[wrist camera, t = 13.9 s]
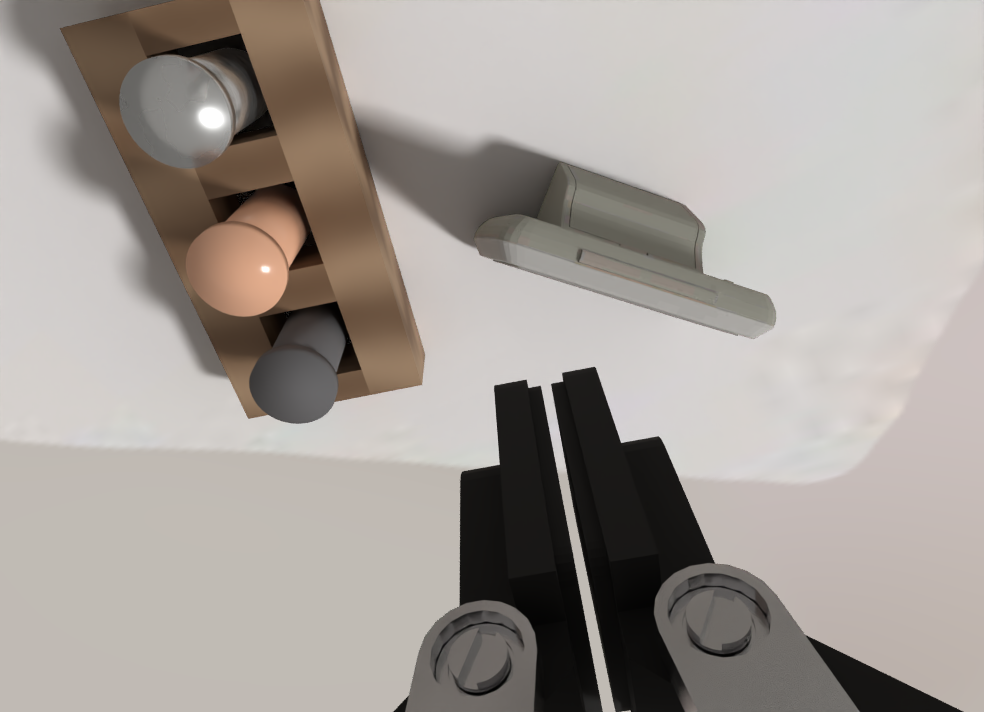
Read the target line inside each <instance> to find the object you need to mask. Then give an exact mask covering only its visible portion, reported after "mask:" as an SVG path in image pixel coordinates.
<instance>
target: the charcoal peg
mask: <svg viewBox="0 0 984 712" xmlns="http://www.w3.org/2000/svg"><path fill="white" fill-rule="evenodd" d="M348 335H349V333H348V330H347V328H346V325H345V322H344V319H343V316H342V314H341V311H340V308H339V305H338V303H337V301H335V302H331V303H326V304H321V305H316V306H311V307H306V308H302V309H297V310H292V311H291V313H290V315H289V317H288V319H287V321H286V322H285V324H284V326H283V328H282V330H281V332H280V334H279V336H278V338H277V340H276V342H275V344H274V346H273V348H272V349H270V350H268V351H266V352H265V353H264V354H263V355H262V356H261V357H260V358H259V359H258V361H257V362H256V364H255V366H254V368H253V370H252V372H251V374H250V378H249V388H250V392H251V395H252V397H253V399H254V401H255V402H256V404H257V405H258V406H259V407H260V408H261V409H262V410H263V411H264V412H265V413H267V414H268V415H270V416H271V417H273V418H275V419H278V420H280V421H283V422H288V423H296V424H299V423H308V422H312V421H315V420H317V419H319V418H321V417H323V416H324V415H325V414H326V413H327V412H328V411H329V410H330V409H331V408H332V406H333V404H334V401H335V398H336V395H337V392H338V377H337V374H336V372H337V369H338V366H339V363H340V360H341V357H342V354H343V350H344V347H345V344H346V341H347V338H348Z"/></svg>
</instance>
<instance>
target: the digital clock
mask: <svg viewBox="0 0 984 712" xmlns="http://www.w3.org/2000/svg"><path fill="white" fill-rule="evenodd" d="M705 233H706V231H705V227H704V225H703V223H702V222H701V221H700V220H699V219H698V218H697V217H696V216H695V215H694V214H693V213H692V212H691V211H690V210H689V209H688V208H687V207H686V206H685V205H683V204H680V203H677V202H674V201H671V200H669V199H666V198H663V197H660V196H657V195H654V194H651V193H648V192H646V191H643V190H640V189H637V188H634V187H631V186H628V185H625V184H623V183H620V182H617V181H614V180H611V179H608V178H605V177H603V176H600V175H597V174H594V173H591V172H588V171H585V170H582V169H580V168H577V167H574V166H571V165H568V164H565V163H562V162H559V163H558V165H557V167H556V170H555V172H554V175H553V177H552V180H551V183H550V185H549V188H548V190H547V193H546V195H545V198H544V201H543V203H542V206H541V208H540V211H539V214H538V216H537V219H535V218H532V217H528V216H525V215H520V214H514V215H507V216H500V217H494V218H491V219H489V220H487V221H486V222H484V223H483V224H482V225H481V226H480V227H479V228H478V230H477V231H476V233H475V237H474V241H475V243H476V246H477V249H478V251H479V254H480V255H481V256H484V257H487V258H490V259H493V261H496V262H499V263H502V264H505V265H508V266H512V267H515V268H518V269H521V270H525V271H528V272H531V273H534V274H537V275H541V276H544V277H547V278H550V279H554V280H557V281H560V282H563V283H566V284H570V285H573V286H576V287H579V288H583V289H586V290H589V291H592V292H595V293H599V294H602V295H605V296H608V297H612V298H615V299H618V300H621V301H624V302H628V303H631V304H634V305H637V306H640V307H644V308H647V309H650V310H653V311H657V312H660V313H663V314H666V315H669V316H673V317H676V318H679V319H683V320H686V321H689V322H692V323H696V324H699V325H702V326H706V327H709V328H713V329H716V330H719V331H723V332H726V333H730V334H733V335H737V336H738V335H741V336H744V337H748V338H751V339H755V338H757V337H759V336H760V335H762V334H764V333H766V332H767V331H769V330H771V329H772V328H774V325H775V322H776V311H775V308H774V305H773V303H772V301H771V299H770V297H769V296H768V295H766V294H763V293H760V292H757V291H754V290H751V289H748V288H745V287H742V286H739V285H736V284H733V283H734V282H731V281H728V280H721V279H718V278H715V277H712V276H709V275H706V274H703V267H702V245H703V241H704V237H705ZM591 252H592V253H591ZM622 262H623V263H622Z"/></svg>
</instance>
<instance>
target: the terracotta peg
mask: <svg viewBox="0 0 984 712" xmlns="http://www.w3.org/2000/svg"><path fill="white" fill-rule="evenodd" d="M310 232H311V227H310V225H309V222H308V219H307V216H306V213H305V211H304V208H303V205H302V202H301V200H300V197H299V194H298V191H296V190H295V189H293V188H291V187H289V186H286V185H282V184H278V185H273V186H269V187H264V188H260V189H257V190H256V191H255V192H254V193H253V194H252V195H251V196H250V197H249V198H248V199H247V200H246V201H245V202H244V203H243V204H242V205H241V206H240V207H239V208H238V209H237V210H236V211H235V212H234V213H233V214H232V215H231V216H230V217H229V218H228V219H227V220H226V221H225V222H220V223H217V224H214V225H212V226H210V227H209V228H207V229H205V230H204V231H203V232H202V233H201V234H200V235H199V236H198V237H197V238H196V239H195V240H194V241H193V243H192V244H191V246H190V247H189V250H188V253H187V257H186V271H187V275H188V278H189V281H190V283H191V285H192V287H193V289H194V290H195V291H196V293H197V294H198V295H199V296H200V297H201V299H203V300H204V301H205V302H206V303H207V304H209V305H210V306H211V307H213V308H215V309H217V310H219V311H221V312H223V313H226V314H229V315H234V316H242V317H245V316H255V315H258V314H261V313H264V312H266V311H268V310H269V309H271V308H272V307H273V306H274V305H275V304H276V303H277V302H278V301H279V299H280V298H281V296H282V295H283V293H284V291H285V289H286V287H287V284H288V281H289V267H290V265H291V264H292V262H293V260H294V259H295V257H296V255H297V254H298V252H299V251H300V249H301V247H302V246H303V244H304V242H305V241H306V239H307V237H308V236H309V234H310Z"/></svg>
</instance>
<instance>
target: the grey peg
mask: <svg viewBox="0 0 984 712" xmlns="http://www.w3.org/2000/svg"><path fill="white" fill-rule="evenodd" d="M119 105H120V112H121V116H122V119H123V122H124V124H125V127H126V129H127V130H128V132H129V134H130V135H131V137H132V138H133V140H134V141H135V142H136V143H137V145H138V146H139V147H140V148H141V149H142V150H143V151H144V152H146V153H147V154H148V155H150V156H151V157H153V158H154V159H156V160H157V161H159V162H161V163H164V164H166V165H169V166H172V167H176V168H184V169H192V168H198V167H202V166H205V165H207V164H209V163H211V162H212V161H214V160H215V159H217V158H218V157H219V156H221V155H222V154H223V153H224V152H225V151H226V150H227V148H228V147H229V145H230V144H231V142H232V140H233V137H234V135H235V134H236V133H238V132H239V131H241V130H242V129H244V128H245V127H247V126H248V125H250V124H251V123H253V122H254V121H256V120H257V119H259V118H260V117H261V116H262V115H263V114H264V113H265V112H266V111H267V109H268V108H267V105H266V102H265V99H264V96H263V94H262V91H261V88H260V85H259V83H258V80H257V77H256V74H255V71H254V69H253V66H252V63H251V60H250V58H249V55H248V53H247V52H245V51H243V50H240V49H236V48H222V49H218V50H215V51H211V52H208V53H204V54H201V55H197V56H194V57H190V58H188V57H184V56H180V55H160V56H156V57H152V58H148V59H145V60H143V61H141V62H139V63H138V64H136V65H135V66H134V67H132V69H131V70H130V71H129V72H128V73H127V75H126V76H125V78H124V80H123V82H122V85H121V89H120V95H119Z"/></svg>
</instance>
